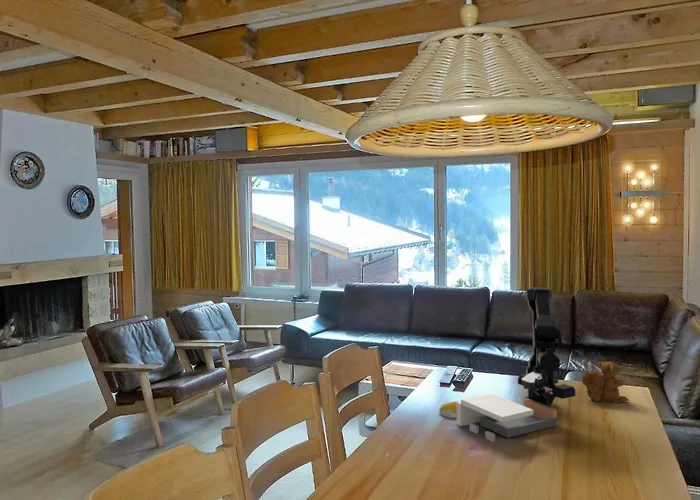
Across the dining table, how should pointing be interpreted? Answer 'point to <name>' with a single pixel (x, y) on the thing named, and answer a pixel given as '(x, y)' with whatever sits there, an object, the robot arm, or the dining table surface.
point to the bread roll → (449, 410)
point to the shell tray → (523, 420)
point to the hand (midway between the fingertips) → (545, 412)
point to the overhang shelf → (488, 411)
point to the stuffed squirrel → (604, 383)
